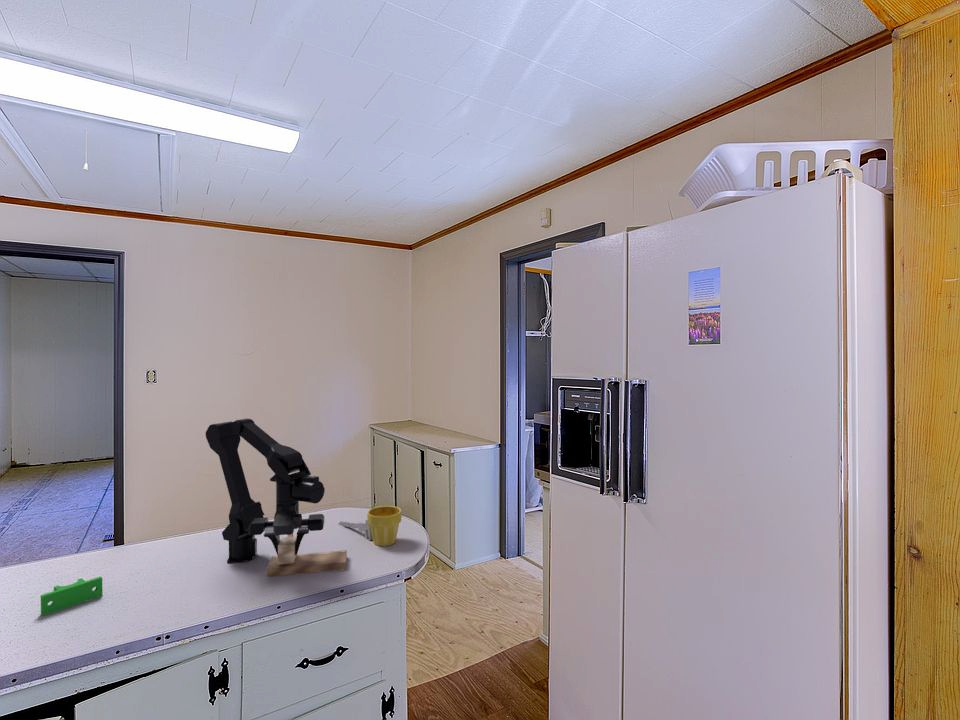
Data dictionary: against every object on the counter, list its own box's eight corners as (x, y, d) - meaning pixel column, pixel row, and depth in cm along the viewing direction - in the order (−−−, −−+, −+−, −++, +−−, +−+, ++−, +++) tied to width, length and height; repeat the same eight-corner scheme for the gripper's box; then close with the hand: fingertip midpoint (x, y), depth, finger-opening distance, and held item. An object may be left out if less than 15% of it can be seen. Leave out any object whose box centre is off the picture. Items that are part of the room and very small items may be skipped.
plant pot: (370, 551, 147) (370, 518, 146) (364, 538, 156) (364, 507, 156) (404, 546, 151) (404, 514, 150) (397, 534, 160) (397, 504, 160)
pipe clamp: (96, 592, 122) (96, 573, 121) (102, 596, 119) (102, 577, 119) (36, 611, 112) (36, 591, 112) (42, 616, 110) (42, 596, 110)
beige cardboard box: (277, 564, 131) (277, 545, 131) (283, 551, 140) (283, 533, 140) (293, 563, 132) (293, 544, 132) (298, 549, 141) (298, 532, 141)
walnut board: (266, 576, 130) (266, 568, 130) (272, 563, 138) (272, 556, 138) (345, 569, 134) (345, 561, 134) (346, 557, 142) (346, 550, 142)
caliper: (372, 541, 155) (372, 521, 155) (369, 541, 154) (369, 521, 154) (341, 523, 170) (341, 505, 170) (338, 524, 169) (338, 506, 169)
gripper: (243, 510, 124) (243, 571, 125) (321, 505, 128) (321, 565, 129) (252, 497, 135) (253, 553, 135) (324, 493, 139) (324, 548, 140)
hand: (287, 555), depth 135 cm, fingers closed on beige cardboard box, 4 cm apart
